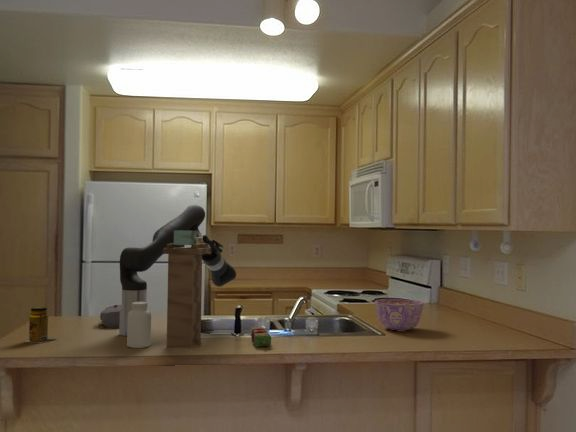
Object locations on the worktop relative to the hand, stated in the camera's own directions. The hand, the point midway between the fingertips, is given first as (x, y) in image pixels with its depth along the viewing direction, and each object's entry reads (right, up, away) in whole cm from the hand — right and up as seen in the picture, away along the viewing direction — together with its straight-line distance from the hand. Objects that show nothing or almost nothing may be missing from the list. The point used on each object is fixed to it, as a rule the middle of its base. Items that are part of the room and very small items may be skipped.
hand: (199, 236), depth 205 cm
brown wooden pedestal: (-3, -37, -12) cm, 39 cm away
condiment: (-55, -37, -10) cm, 67 cm away
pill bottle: (-18, -37, -17) cm, 45 cm away
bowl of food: (+80, -40, +21) cm, 91 cm away
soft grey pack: (-38, -38, +27) cm, 60 cm away
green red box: (+23, -38, -10) cm, 46 cm away
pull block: (-1, -2, -5) cm, 6 cm away
